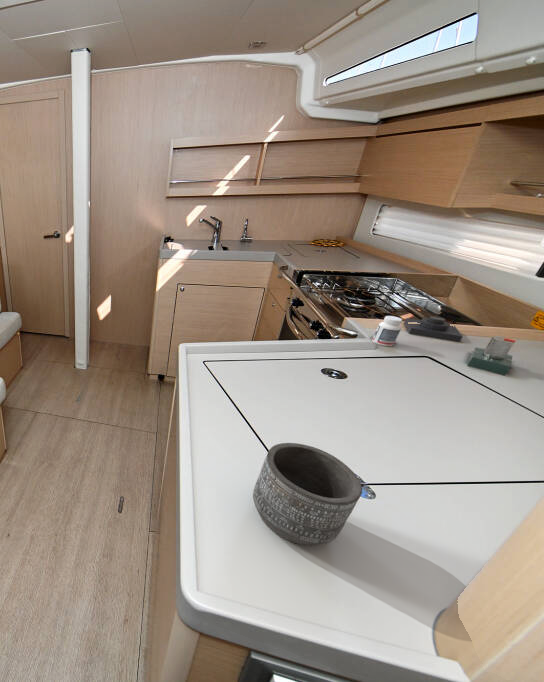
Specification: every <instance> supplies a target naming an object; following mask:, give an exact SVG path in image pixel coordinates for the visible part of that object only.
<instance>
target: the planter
mask: <svg viewBox="0 0 544 682" xmlns="http://www.w3.org/2000/svg"><path fill="white" fill-rule="evenodd" d="M362 493H363V486H362V483H361V480H360V479H359V478H358V476H357V474H356V473H355V472H354V471H353V470H352V469H351V468H350V467H349V466H348V465H346V463H344V462H343V461H342V460H340V459H338V458H337V457H335V456H334V455H332V454H330V453H328V452H327V451H324V450H322V449H320V448H317V447H314V446H311V445H307V444H303V443H297V442H282V443H278V444H277V443H276V444H274V445H273V446H272V447H270V448H269V450H268V452H267V454H266V457H265V459H264V461H263V463H262V466H261V469H260V471H259V474H258V477H257V480H256V482H255V485H254V487H253V491H252V499H253V503H254V506H255V508H256V511H257V513H258V515H259V517H260V519H261V520H262V522H263V523H264V524H265V525H266V527H267V528H268V529H270V531H271V532H273V533H274V534H275V535H277V536H278V537H280V538H282V539H284V540H285V541H287V542H289V543H293V544H296V545H300V546H317V545H323V544H328V543H331V542H333V541H334V540H336V539H337V538H338V536H339V534H340V533H341V531H342V530H343V528H344V526H345V524H346V522H347V521H348V519H349V517H350V515H352V512H353V510H354V509H355V507H356V505H357V503H358V501H359V499H360V497H362Z"/></svg>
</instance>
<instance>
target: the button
mask: <svg viewBox="0 0 544 682" xmlns="http://www.w3.org/2000/svg"><path fill="white" fill-rule="evenodd" d="M428 318H429V320H428V322H430V323H434V324H440V325H443V323H444V321H445V322H446V319H445V318H444V317H441V316H435V315H431V316H429V317H428Z"/></svg>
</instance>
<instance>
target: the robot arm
mask: <svg viewBox="0 0 544 682" xmlns="http://www.w3.org/2000/svg"><path fill="white" fill-rule="evenodd" d="M539 244H540V247H541V248H543V249H544V238H543V239H542V241H541V242H540V243H539ZM534 276H535V277H536V278H539V279H544V261H543V262H542V264H541V265H540V267H539V268H538V270H537V271H536V273H535V274H534Z"/></svg>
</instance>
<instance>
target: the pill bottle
mask: <svg viewBox="0 0 544 682" xmlns="http://www.w3.org/2000/svg"><path fill="white" fill-rule="evenodd" d="M402 321H403V318H400V317H398V316H394V315H385V316H384V318H383V321H381V322H380V323H379V324H378V326H377V328H376V330H375V332H374V335H373V337H372V339H371V341H372V342H373V343H374V344H376V345H379V346H384V347H392V346H394V344H395V342H396V341H397V338H398V336H399V334H400V333H401V330H402V326H401V324H402Z"/></svg>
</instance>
